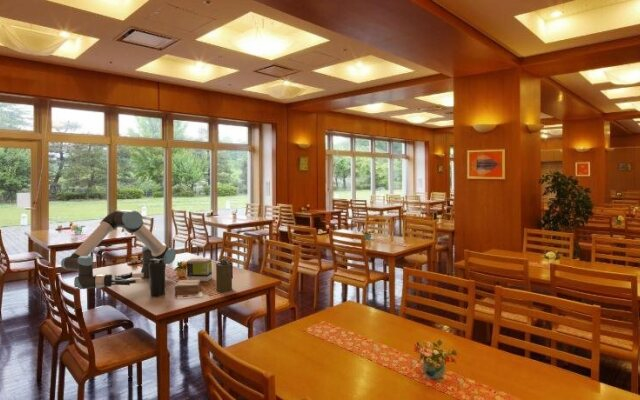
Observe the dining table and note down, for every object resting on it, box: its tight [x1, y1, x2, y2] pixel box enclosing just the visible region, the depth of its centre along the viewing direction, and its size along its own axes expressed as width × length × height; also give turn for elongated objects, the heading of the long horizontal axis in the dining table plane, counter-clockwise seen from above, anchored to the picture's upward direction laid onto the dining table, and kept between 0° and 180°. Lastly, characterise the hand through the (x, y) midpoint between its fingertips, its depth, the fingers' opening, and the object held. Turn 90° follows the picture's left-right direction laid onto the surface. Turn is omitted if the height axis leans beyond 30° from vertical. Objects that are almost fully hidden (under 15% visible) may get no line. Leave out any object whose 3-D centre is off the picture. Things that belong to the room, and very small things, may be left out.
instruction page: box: [176, 291, 203, 300], centre depth 250 cm, size 10×15×1 cm, turn 109°
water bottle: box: [148, 259, 167, 298], centre depth 250 cm, size 10×10×23 cm
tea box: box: [186, 257, 213, 282], centre depth 286 cm, size 15×10×15 cm
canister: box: [215, 258, 234, 293], centre depth 262 cm, size 11×10×20 cm
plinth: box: [174, 279, 202, 297], centre depth 257 cm, size 14×14×6 cm
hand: (142, 277), depth 247 cm, fingers open, 13 cm apart
